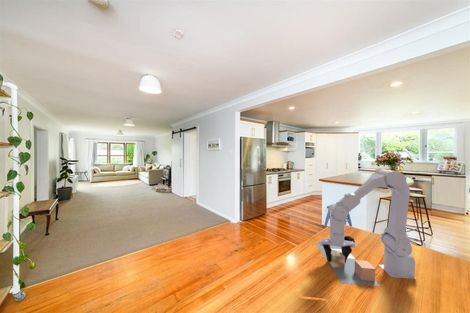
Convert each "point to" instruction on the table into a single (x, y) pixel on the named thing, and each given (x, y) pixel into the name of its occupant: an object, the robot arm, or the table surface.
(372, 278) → the terracotta cube
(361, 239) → the table surface
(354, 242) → the build plate
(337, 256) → the maple cube
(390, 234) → the robot arm
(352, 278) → the board
